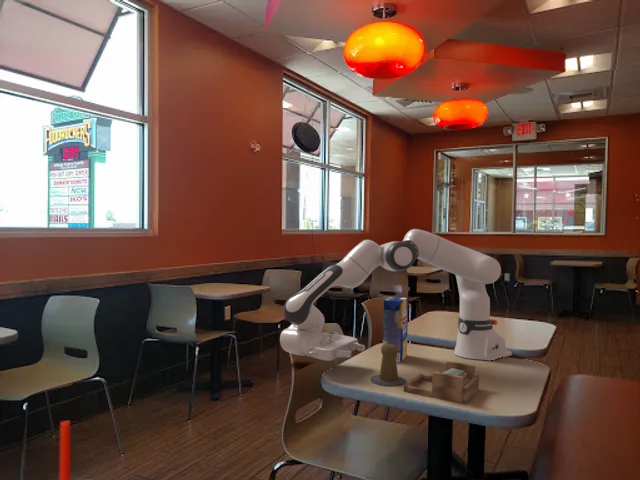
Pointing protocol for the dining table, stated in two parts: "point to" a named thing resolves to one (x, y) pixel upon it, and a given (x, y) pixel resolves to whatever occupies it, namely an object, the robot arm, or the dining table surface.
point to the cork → (389, 363)
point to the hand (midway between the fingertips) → (357, 351)
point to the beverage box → (396, 325)
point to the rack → (448, 383)
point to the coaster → (376, 380)
